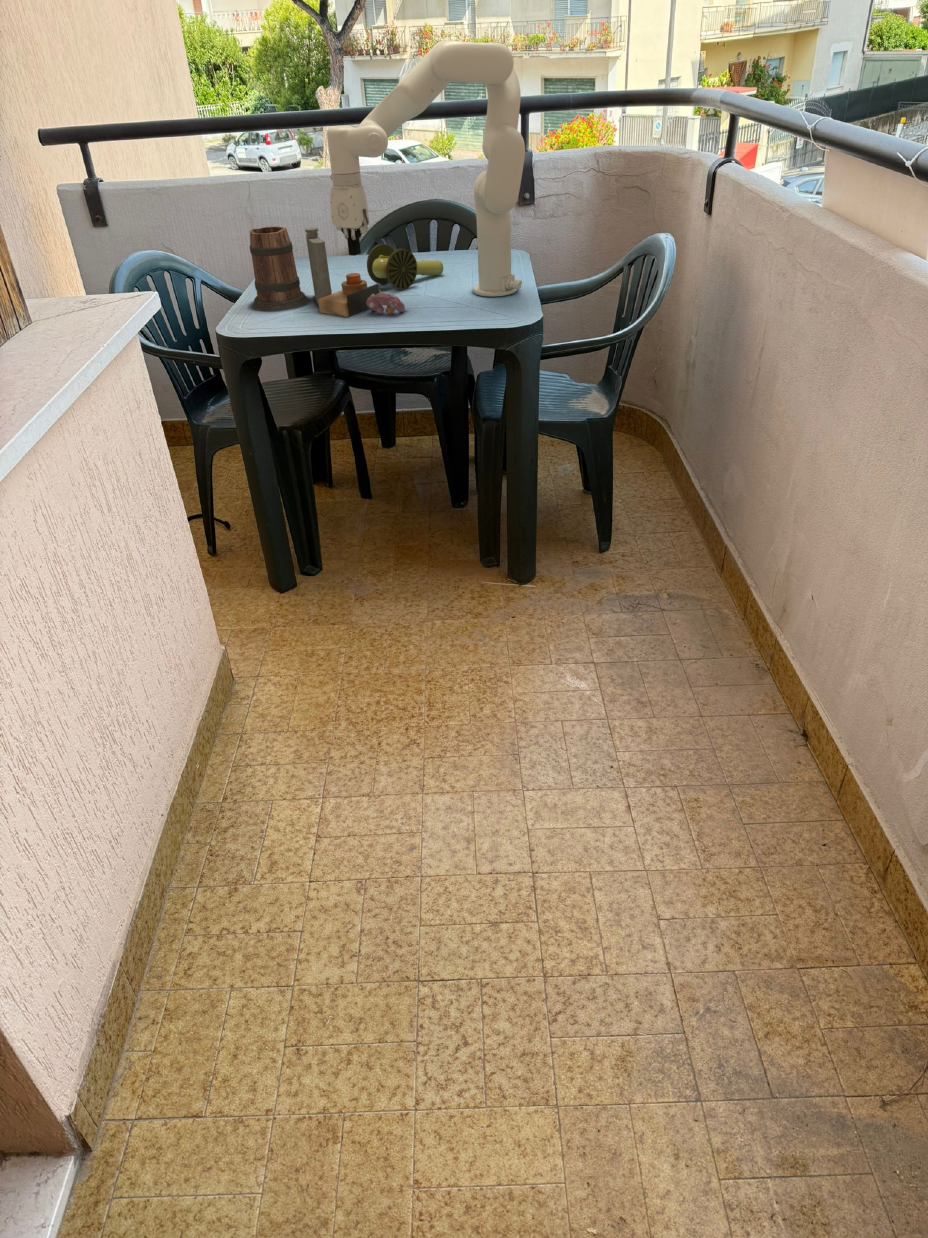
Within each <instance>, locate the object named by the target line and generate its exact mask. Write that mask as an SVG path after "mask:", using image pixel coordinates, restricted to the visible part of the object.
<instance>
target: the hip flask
mask: <svg viewBox="0 0 928 1238" xmlns="http://www.w3.org/2000/svg"><path fill="white" fill-rule="evenodd" d="M304 232H305V239H306V246H307V253H308V259H309V265H310V272H311V273H310V274H311V278H312V286H313V293H314V301H315V302H316V305H318V306H319V301H318V299H320V298H322V297H325V296H328V295H331V294H333V291H332V285H331V278H330V270H329V264H328V256H327V249H326V242H325V240H323V239H321V238H320V237H319V228H318V227H316V226H309V227H305V228H304Z"/></svg>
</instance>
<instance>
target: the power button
mask: <svg viewBox="0 0 928 1238" xmlns="http://www.w3.org/2000/svg"><path fill="white" fill-rule="evenodd" d="M345 278H346V281H347V284H349V285H355V284H360V283H361V280H362V277H361V274H360V273H359V272H351V273H347V274H345Z"/></svg>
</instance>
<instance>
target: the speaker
mask: <svg viewBox="0 0 928 1238" xmlns="http://www.w3.org/2000/svg"><path fill="white" fill-rule="evenodd" d="M367 287H368V282H367V281H366V280H365V279H361V283H360V284H355V285H349V284H347V280H345V281H342V283H341V290H339V291H337V292H332V294H331V295H328V296H325V297H322V298H320V299H318V301H319V305H318V307H319V313H322V314H328V315H331V316H332V315H333V316H339V317H344V318H347V317H350V316H353V315H355V314H357V313H360V312H363V311H365V310H368V309H369V308H366V309H364V310H361V311H359V312H356V313H354V314H351V315H349V313H348V305H347V297H346V295H348V294H351V293H354V292H356V291H359V290H362V289H364V288H367ZM379 293H381V289H379Z"/></svg>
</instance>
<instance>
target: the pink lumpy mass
mask: <svg viewBox="0 0 928 1238" xmlns="http://www.w3.org/2000/svg"><path fill="white" fill-rule="evenodd" d="M366 304H367V306H368V307H369V308H368V309H370V311H371V312H375V313H376V314H377V315H382V314H383V313H384V311H385V313H386V314H388V315H393V314H394V313H395V311H398V312H399V313H404V312H405V309H406V307H405V304H404V302H402V301H401V299H400V298H399V297H398V296H396V294H390V293H386V292H380V293H378V294H376V295H375V294H371V296H370V297H369V298H368V299H367V302H366ZM384 306H385V307H386V308H384Z"/></svg>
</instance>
